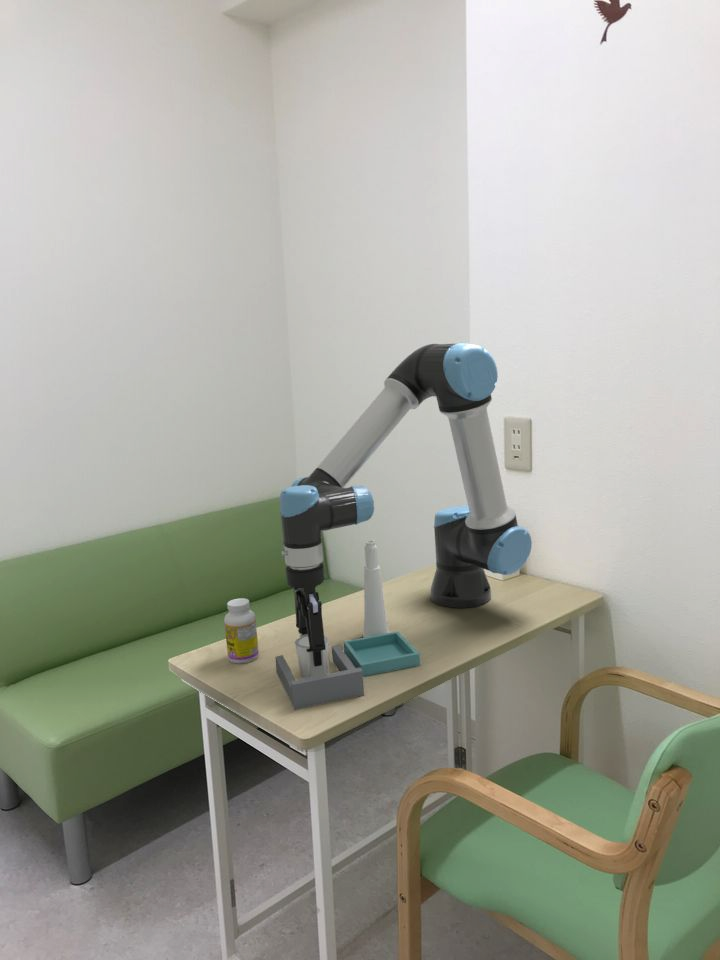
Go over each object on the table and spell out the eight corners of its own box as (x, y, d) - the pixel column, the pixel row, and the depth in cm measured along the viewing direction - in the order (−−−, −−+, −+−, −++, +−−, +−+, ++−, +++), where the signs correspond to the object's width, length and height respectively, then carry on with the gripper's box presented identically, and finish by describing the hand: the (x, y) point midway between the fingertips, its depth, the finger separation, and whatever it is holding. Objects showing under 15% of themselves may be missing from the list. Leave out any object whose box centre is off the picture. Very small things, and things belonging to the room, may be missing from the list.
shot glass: (306, 663, 161) (303, 632, 159) (336, 666, 158) (333, 635, 157) (291, 678, 155) (288, 646, 153) (323, 681, 152) (320, 649, 151)
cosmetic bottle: (371, 642, 169) (365, 547, 165) (357, 634, 174) (351, 541, 170) (394, 635, 172) (389, 542, 168) (380, 627, 177) (374, 536, 173)
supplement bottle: (225, 655, 168) (219, 599, 165) (255, 649, 170) (249, 594, 167) (231, 667, 161) (225, 609, 159) (262, 660, 164) (257, 604, 161)
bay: (276, 672, 158) (274, 649, 157) (339, 660, 162) (338, 637, 161) (294, 709, 142) (292, 684, 141) (364, 695, 146) (362, 670, 145)
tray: (398, 641, 169) (398, 631, 168) (420, 664, 157) (419, 653, 156) (343, 652, 165) (343, 641, 165) (361, 676, 153) (361, 665, 153)
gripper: (275, 553, 160) (284, 655, 165) (297, 582, 141) (307, 696, 146) (310, 548, 162) (318, 649, 167) (336, 575, 143) (344, 688, 148)
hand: (313, 671), depth 156 cm, fingers closed on shot glass, 7 cm apart
